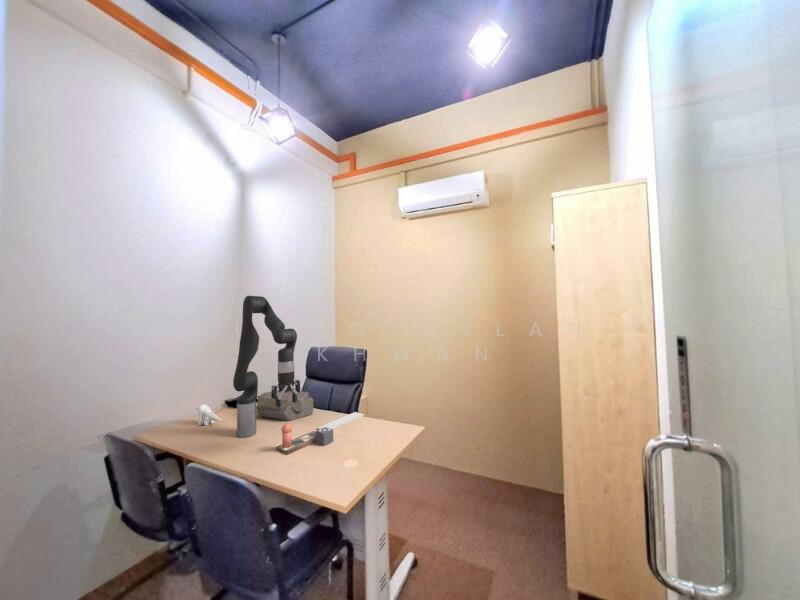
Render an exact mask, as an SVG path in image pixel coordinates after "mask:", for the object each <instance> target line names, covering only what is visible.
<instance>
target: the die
mask: <svg viewBox="0 0 800 600" xmlns="http://www.w3.org/2000/svg"><path fill="white" fill-rule="evenodd" d="M315 431H316V442H315V444H317V445H320V446H323V447H325V446H328V445H329V444H331V442H332V443H333V442H334V429H330V428H326V427H324V428H322V429H320V430H317V429H316V430H315Z"/></svg>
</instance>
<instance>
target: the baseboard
mask: <svg viewBox="0 0 800 600" xmlns="http://www.w3.org/2000/svg"><path fill="white" fill-rule="evenodd" d="M358 416H359V418H361V417H363V416H365V415H364V412H362V413H361V412H360V410H357V411H356V410H355V409H354V410H352V413H350V414H346V415H344V416H342V417H340V418H338V419H334V420H333V421H330V422H328V423H326V424H323V425H321V426H319V427H316V428H315V430H317V429H318V430H320V429H322V428H324V427H326V428H330V429H333V430H335V429H337V428H340V427H342V426H343V424H344V425H346V424H348V423H351V422H352V420H353V421H355V420H356V419H359V418H358ZM347 422H348V423H347ZM345 423H346V424H345ZM341 425H342V426H341Z"/></svg>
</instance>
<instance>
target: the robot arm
mask: <svg viewBox="0 0 800 600" xmlns="http://www.w3.org/2000/svg"><path fill="white" fill-rule="evenodd" d="M242 302H243V303H242V321H241V331H240V333H241V334H240V339H239V347H238V355H237V362H236V367H235V371H234V375H233V381H232V385H233V388H234V390H235V391H236V392H239V393H240V392H242V393H241V395H239V396H238V397H237V398H236V435H237V437H238V438H247V437H252V436H254V435H256V434H257V409H256V407H257V396H258V387H259V386H258V385H259V380H258V378H259V377H258V375H257V373H256V371H252V370H250V371H248V368H249V366H250V364H251V363H252V360H253V359H254V358H255V356H256V354H257V352H258V350H259V345H260V336H259V333H258V330H256V329H257V328H256V327H255V325H254V322H253V314H263V315H264V319H263V321H264V325H265V326H266V327H267V329H268V330H269V331H270V332H271V335H272V338H273V341H274V343H276V344H278V345H285V346H284V347H283V348H280V349H279V350H278V352H277V382H278V383H277V384H276V385H271V391H272V392H271V391H270V392H271V398H272V399H275V400H276V406H277V407H281V399H280V398H281V396H282V395H283V394H284V393H286V392H290V391H291V392H292V393H293V394H292V402H294V403H295V402H296V401H297V393H298V392H300V391H301V381H300V379H295V363H294V362H295V359H294V358H295V356H294V355H295V354H294V351H295V348H296V344H297V338H298V333H297V331H296V330H295V329H294V328H286V325H285V323H284V322H283V321H282V320H281V318H280V317H278V316H277V314H276V313H275V311H274V310H273V308H272V306H271V304H270V303H269V301H268V299H267V298H265V296H260V295H246V296H245V297H244V300H243V301H242Z"/></svg>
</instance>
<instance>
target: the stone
mask: <svg viewBox="0 0 800 600" xmlns="http://www.w3.org/2000/svg"><path fill="white" fill-rule="evenodd" d="M271 392H272V390H271V391H266V392H263V393H261V394H260V395H258V399H257V403H256V414H258V416H259V417H263V418H269V419H273V418H274V419H275V420H282V421H294V420H298V419H300V418H303V417H308V416H310V415H312V414H313V413H314V399H313V397H311V396H310V395H309V391H300V392H298V393H297V401H296V402H295V403H294V402H292V394H293V393H292V392H291V391H290V392H286V393H284V394H283V395H282V396H281V398H280V399H281V407H277V406H276V400H275V399H272V398H271ZM274 419H273V420H274Z"/></svg>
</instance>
